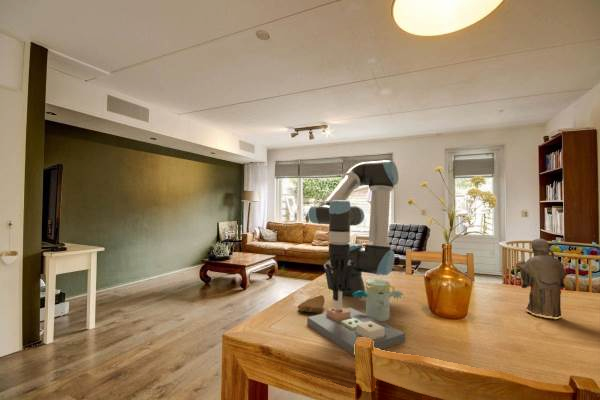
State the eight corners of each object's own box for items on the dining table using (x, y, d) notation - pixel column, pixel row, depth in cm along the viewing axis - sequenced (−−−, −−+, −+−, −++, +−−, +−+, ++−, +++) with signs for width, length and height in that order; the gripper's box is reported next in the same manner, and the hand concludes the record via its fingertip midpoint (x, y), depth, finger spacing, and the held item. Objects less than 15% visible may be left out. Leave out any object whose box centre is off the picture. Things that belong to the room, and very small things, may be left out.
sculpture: (567, 315, 114) (567, 239, 115) (566, 323, 107) (566, 242, 107) (518, 306, 125) (518, 236, 125) (514, 312, 117) (514, 238, 118)
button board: (350, 313, 113) (350, 307, 114) (405, 341, 91) (405, 333, 91) (307, 324, 103) (307, 317, 103) (356, 357, 81) (356, 348, 81)
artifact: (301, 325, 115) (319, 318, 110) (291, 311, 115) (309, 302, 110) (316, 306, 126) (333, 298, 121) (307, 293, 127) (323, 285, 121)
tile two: (354, 326, 101) (354, 316, 101) (366, 332, 96) (366, 322, 96) (340, 329, 98) (340, 320, 98) (352, 337, 93) (352, 326, 93)
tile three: (339, 314, 108) (339, 305, 108) (350, 319, 103) (350, 310, 103) (326, 317, 105) (326, 308, 105) (336, 323, 100) (337, 313, 100)
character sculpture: (356, 323, 104) (356, 286, 104) (349, 312, 116) (349, 278, 116) (410, 323, 105) (411, 286, 105) (398, 312, 116) (399, 278, 116)
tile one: (370, 330, 94) (370, 319, 94) (384, 337, 89) (384, 326, 89) (356, 334, 91) (356, 323, 91) (370, 341, 86) (370, 330, 86)
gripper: (346, 241, 111) (345, 303, 110) (318, 242, 104) (317, 308, 104) (359, 243, 105) (358, 309, 104) (330, 245, 98) (329, 315, 97)
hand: (338, 308), depth 104 cm, fingers closed
